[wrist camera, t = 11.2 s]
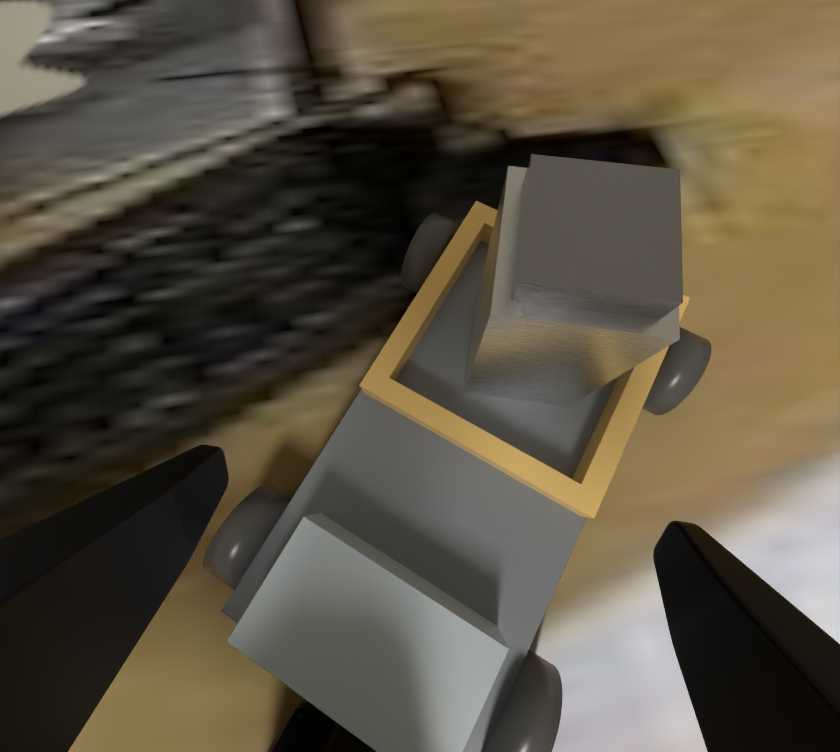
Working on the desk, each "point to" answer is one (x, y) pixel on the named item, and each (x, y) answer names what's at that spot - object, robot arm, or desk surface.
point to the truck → (434, 528)
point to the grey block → (576, 279)
